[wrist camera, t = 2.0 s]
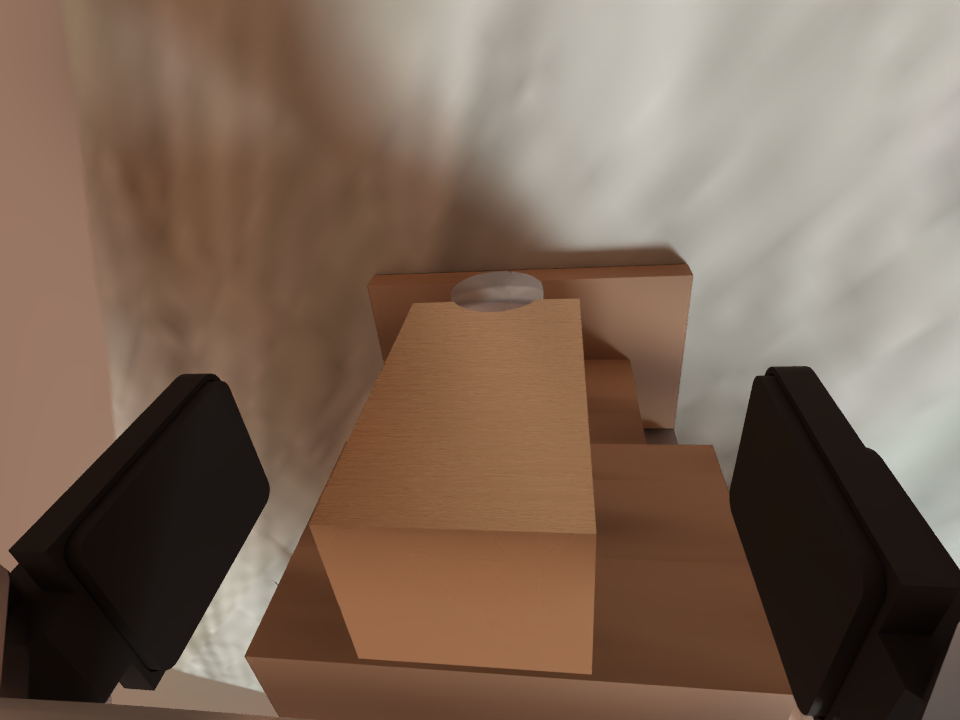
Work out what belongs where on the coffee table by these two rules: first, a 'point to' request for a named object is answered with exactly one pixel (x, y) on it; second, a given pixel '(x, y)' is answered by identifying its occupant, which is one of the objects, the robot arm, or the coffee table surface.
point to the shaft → (470, 489)
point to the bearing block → (619, 552)
